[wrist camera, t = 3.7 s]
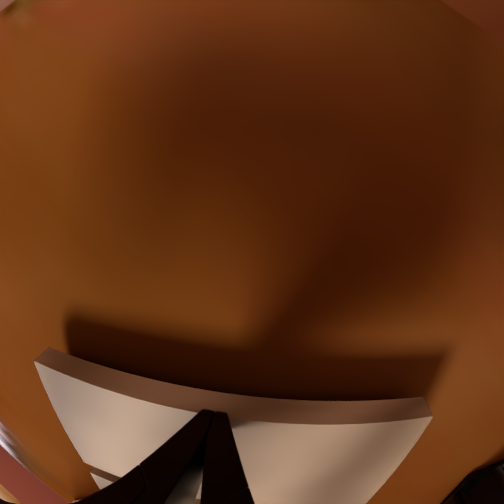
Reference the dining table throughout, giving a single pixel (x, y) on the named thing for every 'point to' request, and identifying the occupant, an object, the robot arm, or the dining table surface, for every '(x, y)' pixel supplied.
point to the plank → (237, 431)
